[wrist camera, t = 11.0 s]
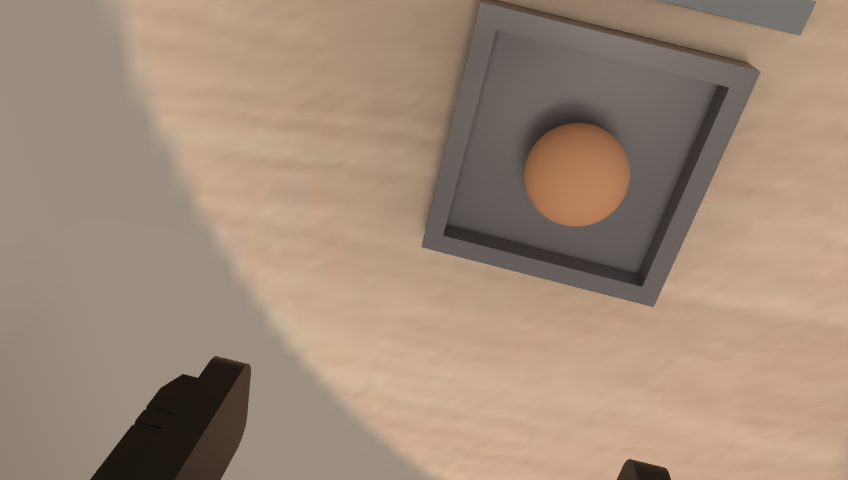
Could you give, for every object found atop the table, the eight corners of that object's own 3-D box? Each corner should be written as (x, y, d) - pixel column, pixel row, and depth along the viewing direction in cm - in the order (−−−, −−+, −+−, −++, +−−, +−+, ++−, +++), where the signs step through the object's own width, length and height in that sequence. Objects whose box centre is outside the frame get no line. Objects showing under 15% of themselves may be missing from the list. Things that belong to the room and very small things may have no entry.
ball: (540, 100, 33) (541, 128, 28) (637, 124, 33) (654, 157, 28) (513, 189, 35) (510, 228, 31) (604, 212, 35) (614, 255, 31)
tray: (483, -3, 32) (480, 2, 30) (747, 62, 31) (760, 71, 30) (426, 231, 38) (421, 246, 36) (647, 288, 37) (653, 307, 35)
